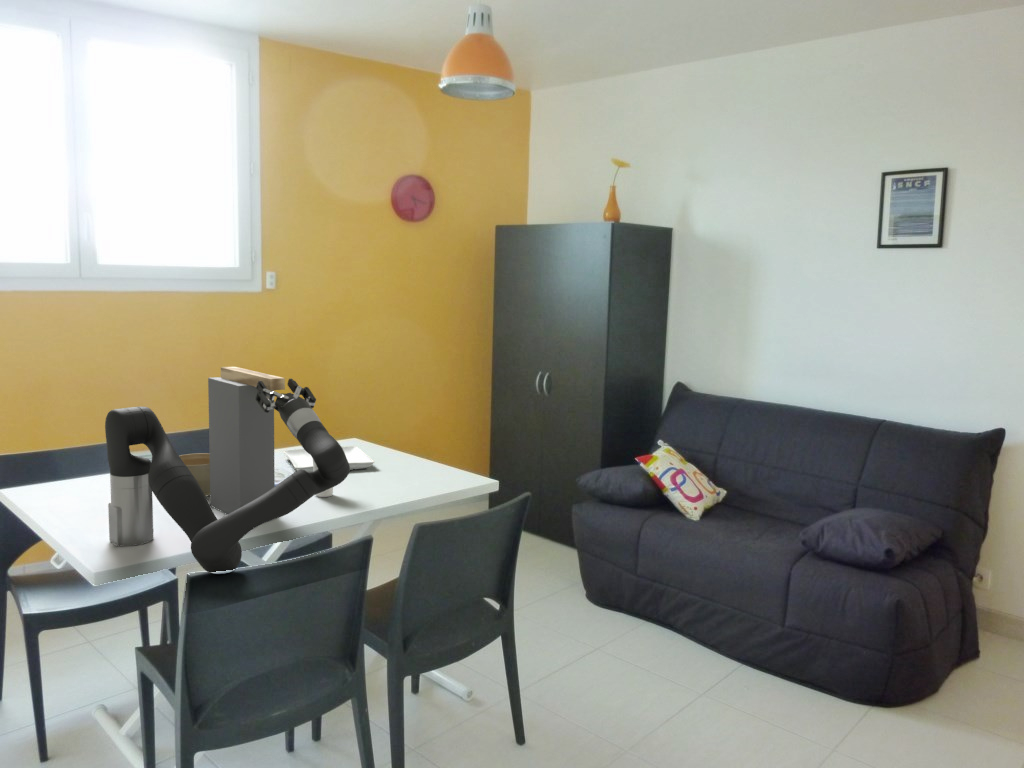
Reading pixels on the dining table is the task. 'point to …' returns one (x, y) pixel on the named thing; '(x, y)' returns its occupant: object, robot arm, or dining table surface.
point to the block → (252, 378)
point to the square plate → (305, 460)
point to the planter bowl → (199, 469)
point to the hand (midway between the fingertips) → (274, 382)
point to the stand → (238, 445)
